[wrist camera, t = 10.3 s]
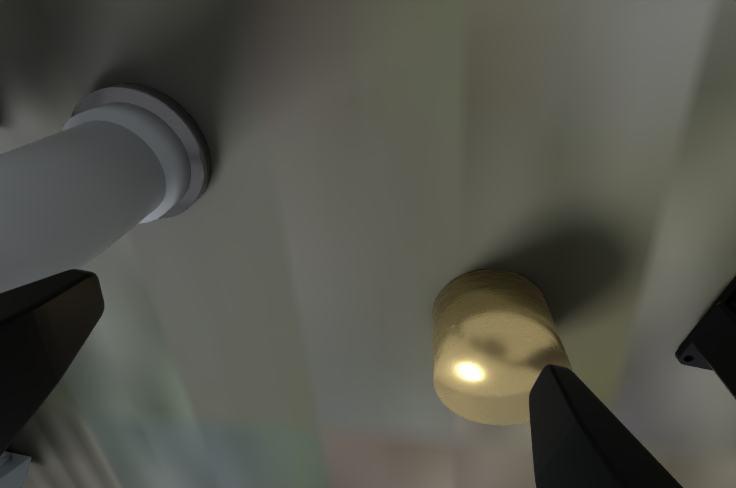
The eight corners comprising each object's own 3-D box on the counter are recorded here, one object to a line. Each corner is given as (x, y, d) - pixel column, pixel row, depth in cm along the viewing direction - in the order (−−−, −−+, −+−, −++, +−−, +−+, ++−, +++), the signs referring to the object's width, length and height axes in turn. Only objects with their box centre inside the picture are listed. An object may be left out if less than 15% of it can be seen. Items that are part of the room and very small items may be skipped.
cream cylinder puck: (564, 281, 22) (598, 349, 18) (522, 362, 26) (542, 435, 21) (448, 258, 22) (453, 320, 18) (421, 341, 26) (420, 410, 21)
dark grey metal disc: (207, 97, 19) (198, 103, 18) (213, 220, 23) (205, 229, 22) (70, 71, 19) (54, 74, 18) (97, 197, 23) (84, 205, 22)
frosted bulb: (166, 95, 18) (-225, 250, 7) (206, 204, 21) (-35, 438, 10) (62, 109, 19) (-426, 265, 8) (113, 212, 22) (-201, 433, 11)
